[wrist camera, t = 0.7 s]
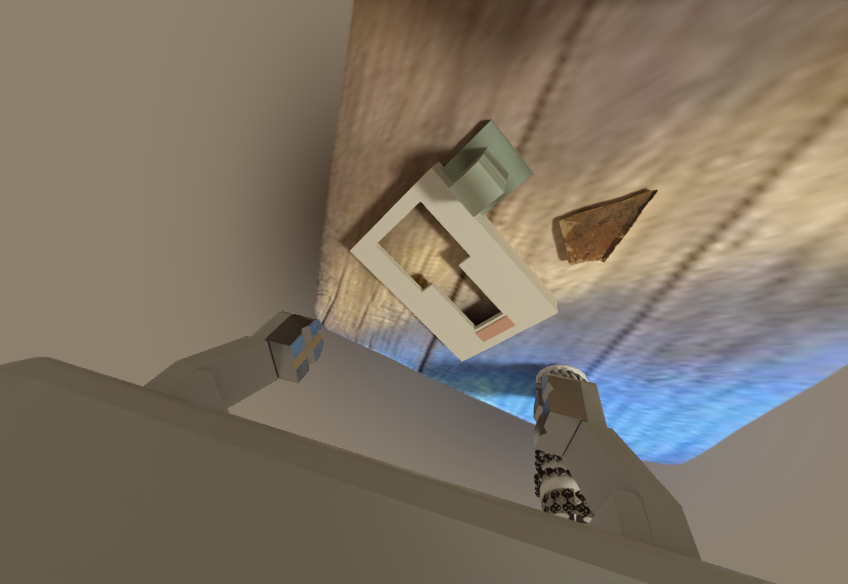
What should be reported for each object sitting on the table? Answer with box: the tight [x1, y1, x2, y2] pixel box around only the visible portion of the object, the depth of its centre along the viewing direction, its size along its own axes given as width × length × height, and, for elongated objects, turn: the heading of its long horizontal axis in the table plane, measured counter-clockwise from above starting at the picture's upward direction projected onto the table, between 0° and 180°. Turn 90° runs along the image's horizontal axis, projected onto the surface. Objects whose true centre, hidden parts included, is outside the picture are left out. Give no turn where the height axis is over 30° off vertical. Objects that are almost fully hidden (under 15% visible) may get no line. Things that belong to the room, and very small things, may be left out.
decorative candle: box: [534, 364, 595, 525], centre depth 46 cm, size 9×9×25 cm
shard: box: [558, 190, 658, 265], centre depth 41 cm, size 11×8×2 cm
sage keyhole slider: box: [442, 120, 533, 217], centre depth 37 cm, size 8×8×10 cm
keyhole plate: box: [350, 162, 558, 361], centre depth 48 cm, size 18×26×4 cm
